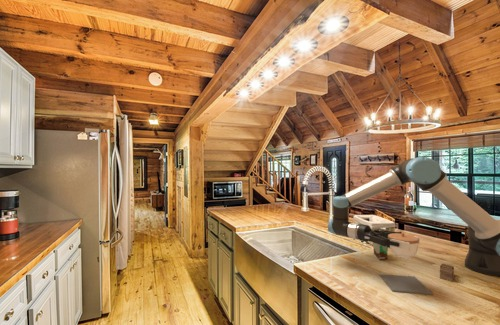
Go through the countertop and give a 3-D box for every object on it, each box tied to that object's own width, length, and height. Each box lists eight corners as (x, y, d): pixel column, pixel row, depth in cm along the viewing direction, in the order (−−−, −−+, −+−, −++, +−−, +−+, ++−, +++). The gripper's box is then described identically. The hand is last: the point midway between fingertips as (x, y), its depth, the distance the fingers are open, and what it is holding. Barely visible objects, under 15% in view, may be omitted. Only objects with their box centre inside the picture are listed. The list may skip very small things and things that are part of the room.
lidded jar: (425, 258, 94) (424, 234, 94) (407, 262, 90) (406, 237, 90) (399, 249, 104) (399, 228, 104) (382, 253, 100) (381, 231, 100)
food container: (393, 262, 119) (393, 242, 119) (380, 261, 120) (380, 241, 120) (384, 253, 131) (384, 235, 131) (372, 252, 132) (372, 235, 132)
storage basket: (397, 246, 143) (396, 222, 143) (371, 247, 142) (371, 222, 143) (375, 235, 167) (374, 214, 167) (352, 235, 166) (352, 214, 167)
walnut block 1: (442, 272, 108) (442, 263, 108) (453, 275, 104) (453, 266, 105) (440, 274, 105) (440, 265, 105) (452, 277, 102) (451, 268, 102)
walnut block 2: (442, 276, 104) (442, 267, 104) (454, 279, 101) (453, 269, 101) (440, 278, 101) (439, 269, 101) (452, 282, 98) (451, 272, 98)
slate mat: (414, 277, 102) (414, 276, 102) (433, 295, 88) (433, 293, 88) (379, 275, 105) (379, 274, 105) (392, 291, 91) (392, 290, 91)
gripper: (371, 235, 118) (423, 246, 101) (347, 245, 104) (404, 260, 86) (370, 220, 118) (423, 229, 101) (347, 228, 104) (403, 239, 87)
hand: (414, 243), depth 94 cm, fingers closed on lidded jar, 11 cm apart
